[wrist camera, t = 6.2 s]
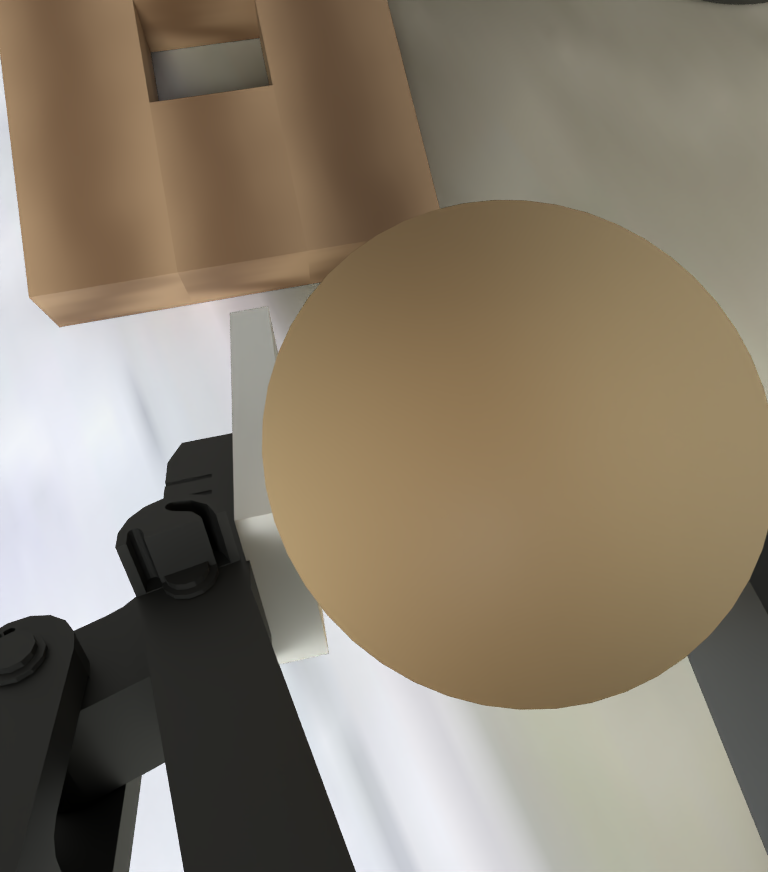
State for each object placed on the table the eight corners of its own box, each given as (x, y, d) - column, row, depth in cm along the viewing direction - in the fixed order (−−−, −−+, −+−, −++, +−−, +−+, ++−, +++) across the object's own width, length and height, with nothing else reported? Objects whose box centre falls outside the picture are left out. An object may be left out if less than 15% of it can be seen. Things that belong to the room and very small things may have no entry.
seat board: (344, -106, 35) (344, -169, 33) (434, 262, 31) (444, 227, 28) (9, -67, 34) (-22, -130, 31) (59, 327, 30) (29, 297, 27)
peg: (455, 453, 20) (690, 165, 6) (491, 604, 19) (847, 642, 6) (306, 483, 20) (221, 244, 6) (337, 639, 19) (317, 769, 5)
